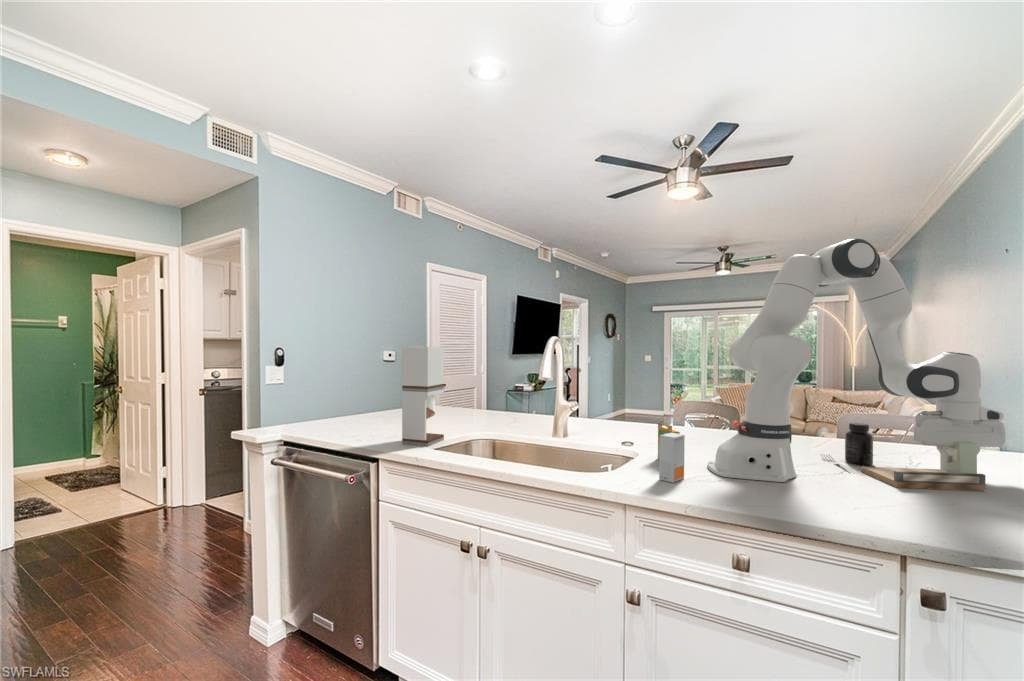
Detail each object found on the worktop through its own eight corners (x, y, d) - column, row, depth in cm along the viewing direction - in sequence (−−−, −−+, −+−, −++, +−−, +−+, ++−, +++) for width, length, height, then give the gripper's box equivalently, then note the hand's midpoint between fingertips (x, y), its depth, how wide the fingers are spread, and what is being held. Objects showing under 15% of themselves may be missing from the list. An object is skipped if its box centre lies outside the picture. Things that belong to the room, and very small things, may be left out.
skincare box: (673, 483, 119) (673, 437, 119) (658, 479, 122) (658, 435, 122) (685, 478, 123) (685, 434, 123) (670, 475, 126) (670, 432, 126)
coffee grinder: (427, 446, 160) (427, 347, 161) (402, 444, 164) (402, 347, 164) (443, 439, 171) (443, 346, 171) (419, 437, 175) (419, 346, 175)
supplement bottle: (878, 467, 135) (878, 426, 135) (852, 465, 136) (852, 425, 136) (865, 461, 141) (865, 422, 141) (840, 459, 143) (840, 421, 143)
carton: (959, 480, 121) (959, 443, 121) (940, 473, 128) (940, 437, 128) (977, 481, 121) (977, 443, 121) (956, 474, 127) (956, 438, 127)
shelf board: (897, 488, 115) (897, 472, 115) (861, 471, 129) (861, 457, 129) (986, 491, 113) (986, 475, 113) (940, 474, 127) (940, 460, 127)
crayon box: (680, 463, 138) (680, 425, 138) (671, 464, 137) (671, 426, 137) (665, 457, 145) (665, 421, 145) (657, 458, 144) (657, 422, 144)
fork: (859, 482, 121) (859, 475, 121) (819, 459, 145) (818, 453, 145) (873, 483, 121) (873, 476, 121) (830, 459, 144) (830, 454, 144)
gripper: (924, 412, 123) (924, 463, 123) (1010, 414, 120) (1010, 466, 120) (907, 409, 129) (907, 457, 129) (989, 410, 126) (989, 460, 126)
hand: (958, 462), depth 124 cm, fingers closed on carton, 4 cm apart
